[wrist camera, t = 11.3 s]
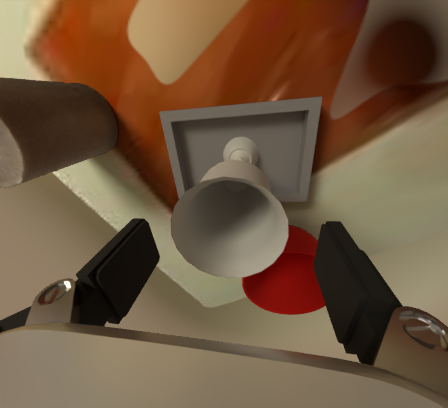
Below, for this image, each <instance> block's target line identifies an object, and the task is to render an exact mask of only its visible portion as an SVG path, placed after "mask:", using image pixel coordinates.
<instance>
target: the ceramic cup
mask: <svg viewBox="0 0 448 408" xmlns="http://www.w3.org/2000/svg"><path fill="white" fill-rule="evenodd" d="M317 244H318V241H317V240H316V239H315V238H314V237H313V236H312V235H311V234H309V233H308V232H306V231H304V230H303V229H301V228H298V227H295V226H291V225H288V239H287V242H286V245H285V248H284V250H283V252H282V253H281V255H280V256H279V257H278V258H277V259H276V261H275V262H274V263H273V264H271V265H270V266H268V267H267V268H266V269H264V270H263V271H261V272H258V273H256V274H253V275H250V276H247V277H242V286H243V290H244V292H245V294H246V296H247V297H248V298H249V299H250V300H251V301H252V302H253V303H254V304H256V305H257V306H258V307H261V308H263V309H265V310H268V311H271V312H274V313H279V314H289V315H292V314H293V315H294V314H304V313H309V312H312V311H316V310H318V309H320V308H323V307H324V306H326V305H325V302H324V299H323V296H322V293H321V290H320V287H319V284H318V281H317V278H316V275H315V272H314V266H313V264H314V259H315V254H316V249H317Z"/></svg>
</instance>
